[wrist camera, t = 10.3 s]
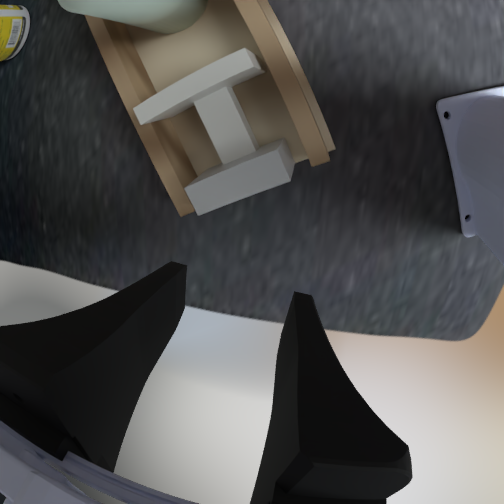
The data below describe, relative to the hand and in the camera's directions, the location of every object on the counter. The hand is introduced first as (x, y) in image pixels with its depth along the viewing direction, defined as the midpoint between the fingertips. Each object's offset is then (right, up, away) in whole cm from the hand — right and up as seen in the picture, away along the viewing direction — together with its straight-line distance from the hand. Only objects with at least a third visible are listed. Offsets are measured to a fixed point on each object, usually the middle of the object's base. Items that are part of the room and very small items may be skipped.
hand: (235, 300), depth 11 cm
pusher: (0, +9, +6) cm, 11 cm away
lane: (-3, +16, +4) cm, 17 cm away
